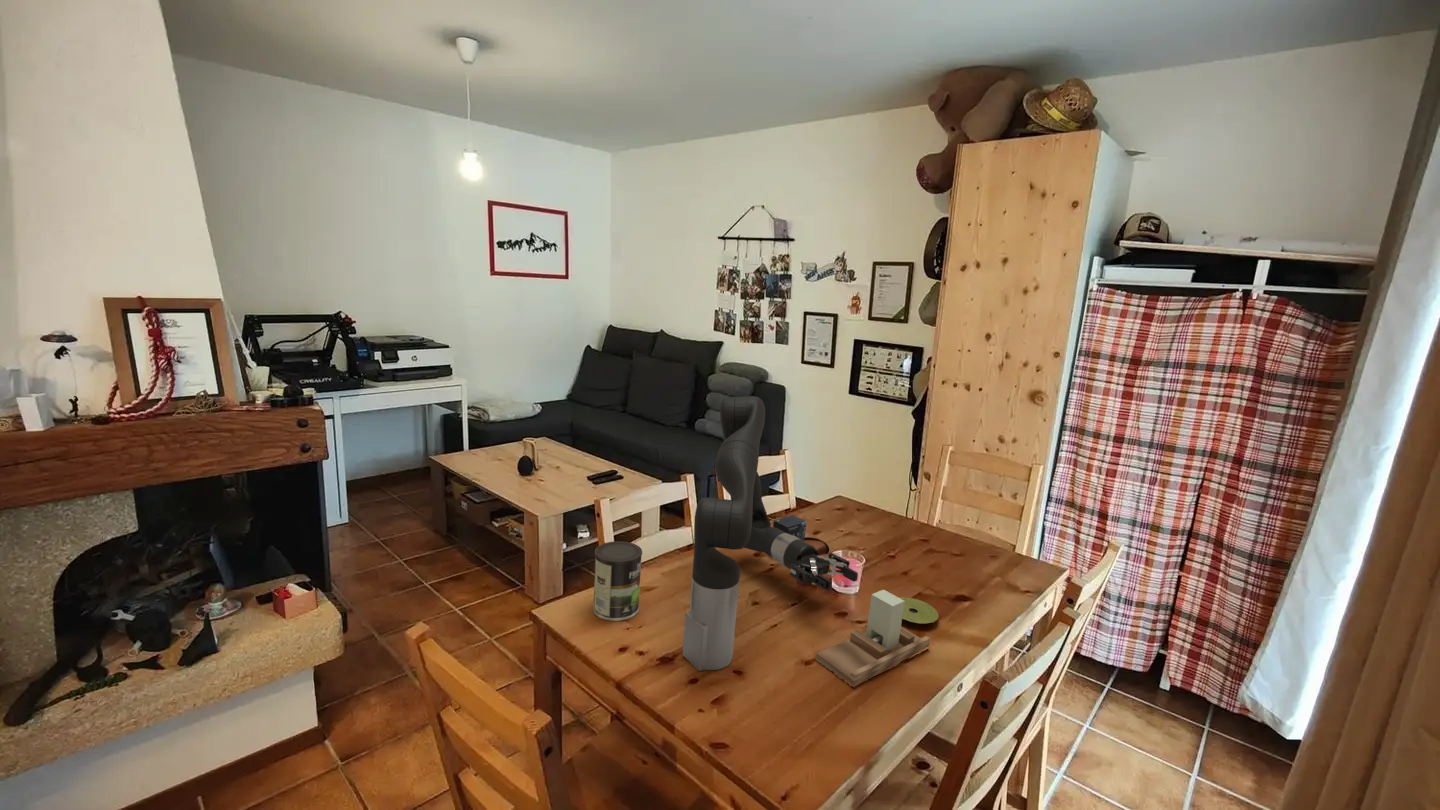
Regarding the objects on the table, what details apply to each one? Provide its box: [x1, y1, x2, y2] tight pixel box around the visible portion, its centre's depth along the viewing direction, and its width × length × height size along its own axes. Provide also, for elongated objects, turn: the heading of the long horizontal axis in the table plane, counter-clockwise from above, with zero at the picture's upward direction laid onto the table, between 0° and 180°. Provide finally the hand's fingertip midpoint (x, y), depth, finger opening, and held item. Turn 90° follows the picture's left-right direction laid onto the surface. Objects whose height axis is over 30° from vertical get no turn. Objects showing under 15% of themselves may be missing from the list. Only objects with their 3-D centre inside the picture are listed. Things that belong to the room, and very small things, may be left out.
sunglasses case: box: [804, 529, 830, 556], centre depth 179 cm, size 18×7×7 cm
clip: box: [865, 589, 905, 652], centre depth 128 cm, size 4×5×10 cm
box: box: [772, 514, 807, 541], centre depth 169 cm, size 8×6×11 cm
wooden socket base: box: [815, 626, 931, 686], centre depth 127 cm, size 24×10×4 cm, turn 127°
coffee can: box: [592, 540, 643, 622], centre depth 136 cm, size 10×10×14 cm
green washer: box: [899, 597, 939, 625], centre depth 143 cm, size 11×11×2 cm
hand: (843, 581), depth 136 cm, fingers open, 8 cm apart
